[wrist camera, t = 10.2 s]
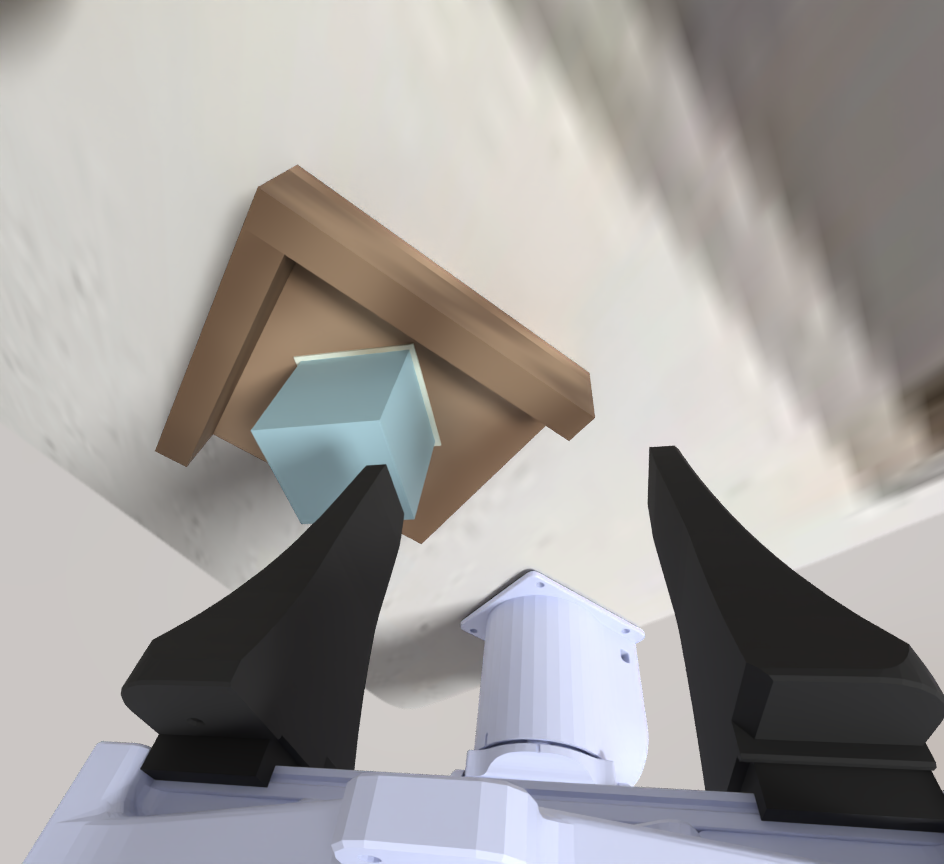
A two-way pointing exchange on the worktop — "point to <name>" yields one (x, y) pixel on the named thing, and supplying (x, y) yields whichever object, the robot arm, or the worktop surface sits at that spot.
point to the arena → (368, 342)
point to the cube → (347, 430)
